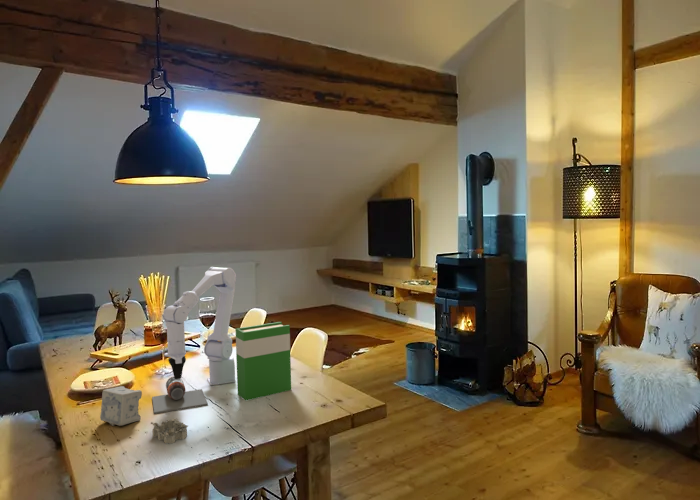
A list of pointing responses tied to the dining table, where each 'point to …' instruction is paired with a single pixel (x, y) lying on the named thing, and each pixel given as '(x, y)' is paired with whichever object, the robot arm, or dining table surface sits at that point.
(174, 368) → the robot arm
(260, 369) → the hardback book
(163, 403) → the mat
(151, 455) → the dining table surface
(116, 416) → the incense holder
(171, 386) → the supplement bottle
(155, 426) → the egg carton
